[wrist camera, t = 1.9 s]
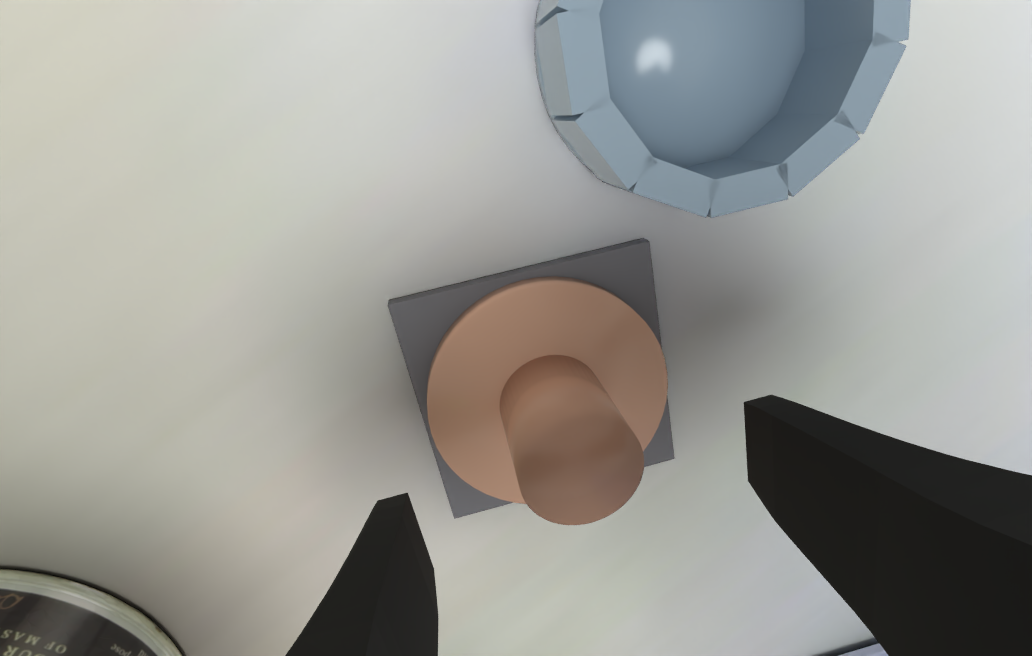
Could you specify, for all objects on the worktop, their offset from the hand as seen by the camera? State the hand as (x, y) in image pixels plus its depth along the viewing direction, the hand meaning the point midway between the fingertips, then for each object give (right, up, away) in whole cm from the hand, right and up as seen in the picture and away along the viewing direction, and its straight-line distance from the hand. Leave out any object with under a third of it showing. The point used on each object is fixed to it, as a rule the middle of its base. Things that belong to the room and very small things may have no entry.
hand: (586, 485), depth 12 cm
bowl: (+2, +10, +2) cm, 11 cm away
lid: (-1, +2, +4) cm, 5 cm away
